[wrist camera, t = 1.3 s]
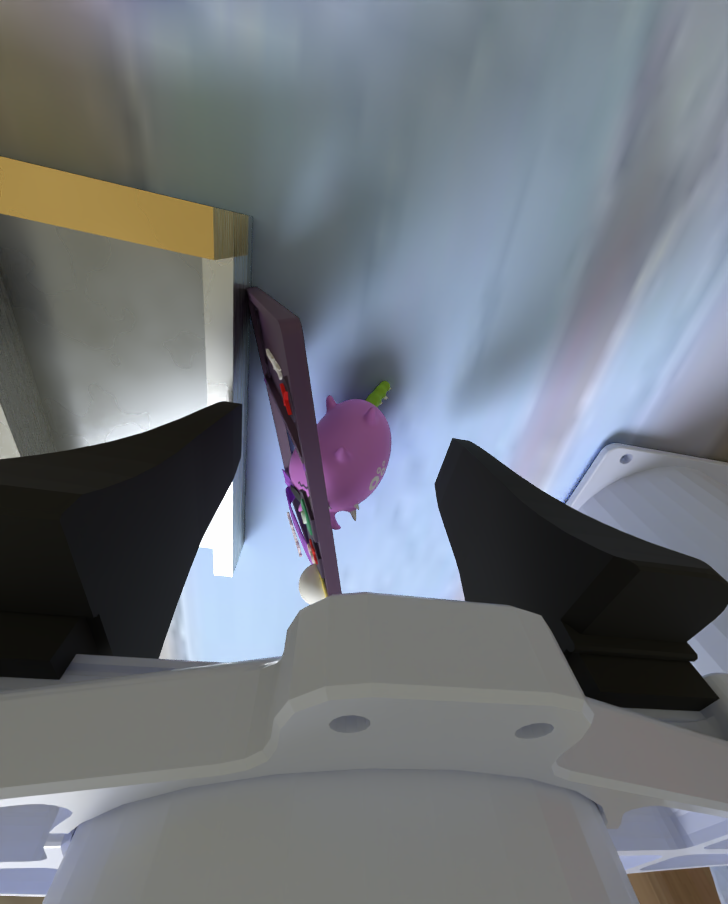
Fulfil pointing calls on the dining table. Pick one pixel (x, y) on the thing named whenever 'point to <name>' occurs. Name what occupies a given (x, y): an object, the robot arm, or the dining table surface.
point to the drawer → (119, 319)
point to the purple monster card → (317, 443)
